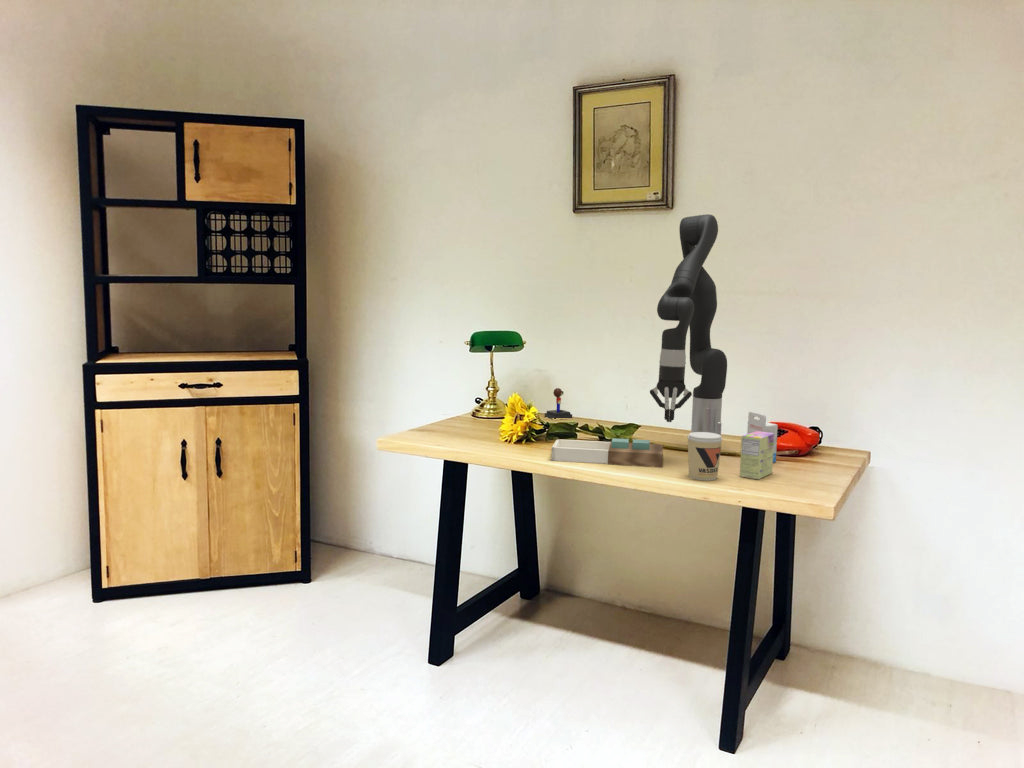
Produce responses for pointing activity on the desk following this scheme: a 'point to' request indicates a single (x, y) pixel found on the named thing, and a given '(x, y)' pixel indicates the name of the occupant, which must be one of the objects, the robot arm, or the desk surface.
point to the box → (756, 454)
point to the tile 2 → (641, 444)
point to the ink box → (762, 428)
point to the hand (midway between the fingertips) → (668, 421)
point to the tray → (580, 451)
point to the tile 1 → (620, 443)
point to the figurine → (558, 407)
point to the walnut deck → (637, 456)
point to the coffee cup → (704, 455)
